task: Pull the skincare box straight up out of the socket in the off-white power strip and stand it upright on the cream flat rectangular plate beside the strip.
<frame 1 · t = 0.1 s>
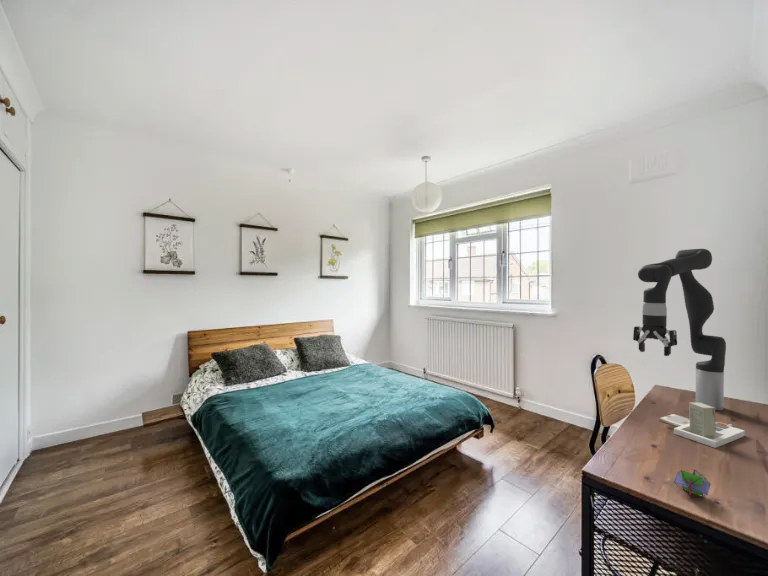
hand: (654, 353, 132), 29 cm above the table, fingers open, 8 cm apart
cream flat rectangular plate: (677, 421, 135), on the table
skincare box: (702, 437, 122), resting in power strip
geometric puzzle: (691, 495, 89), on the table
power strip: (710, 434, 124), on the table
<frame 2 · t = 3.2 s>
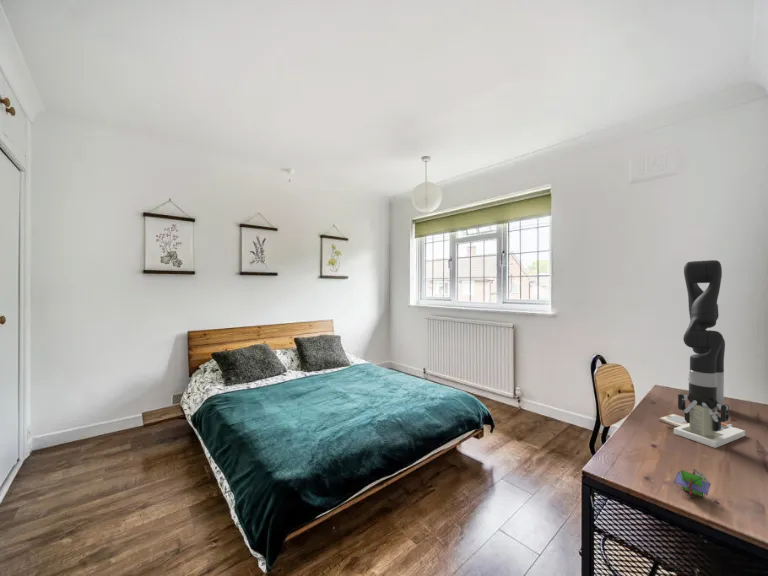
hand: (702, 426, 122), 4 cm above the table, fingers closed on skincare box, 7 cm apart
skincare box: (702, 437, 122), resting in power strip, touching gripper
everything else where it was.
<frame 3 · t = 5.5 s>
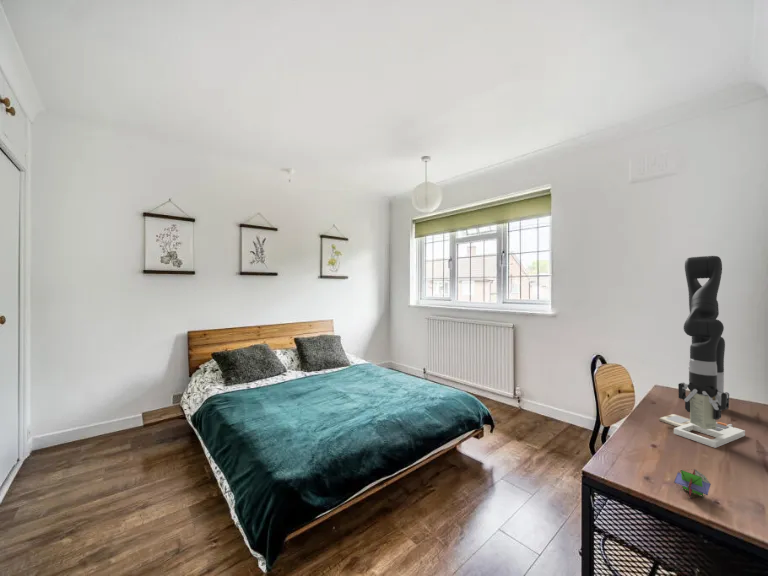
hand: (702, 415, 122), 8 cm above the table, fingers closed on skincare box, 7 cm apart
skincare box: (702, 426, 122), point 4 cm above the table, touching gripper
everything else where it was.
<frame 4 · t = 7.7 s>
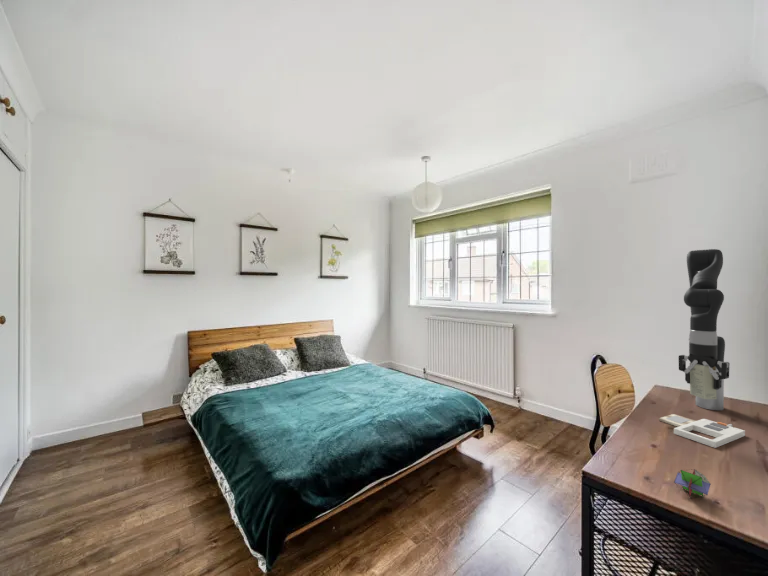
hand: (702, 386, 122), 19 cm above the table, fingers closed on skincare box, 7 cm apart
skincare box: (702, 397, 122), point 15 cm above the table, touching gripper
everything else where it was.
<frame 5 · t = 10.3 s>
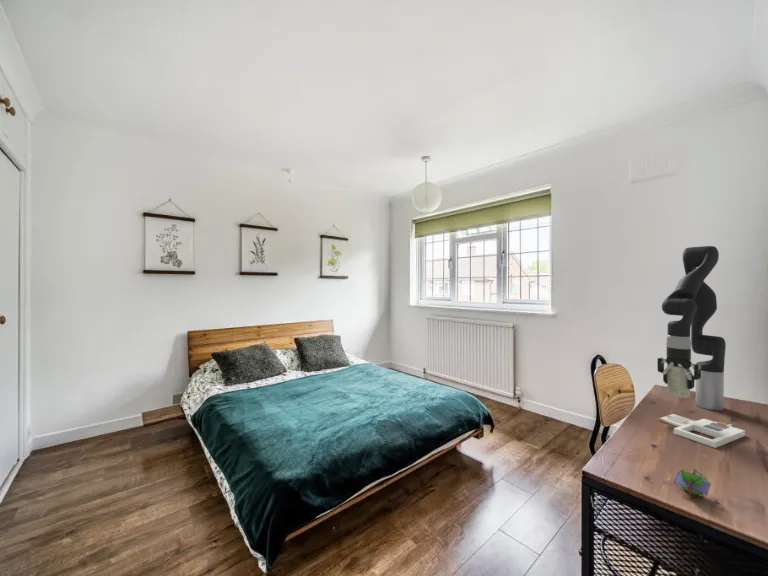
hand: (678, 385, 135), 15 cm above the table, fingers closed on skincare box, 7 cm apart
skincare box: (678, 395, 135), point 11 cm above the table, touching gripper
everything else where it was.
when the fingers open (6 cm above the table, at t = 12.5 s): skincare box moves 1 cm, resting on cream flat rectangular plate.
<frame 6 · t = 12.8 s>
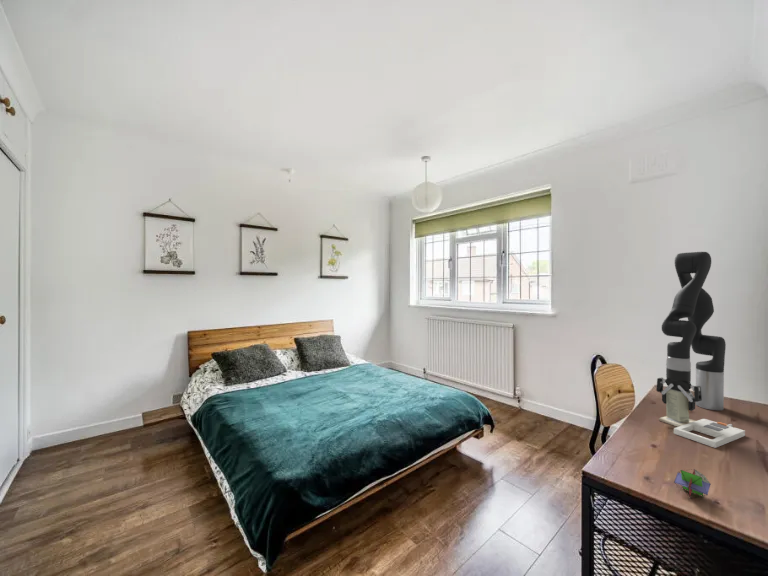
hand: (677, 406, 135), 6 cm above the table, fingers open, 8 cm apart
skincare box: (677, 419, 135), point 1 cm above the table, touching cream flat rectangular plate
everything else where it was.
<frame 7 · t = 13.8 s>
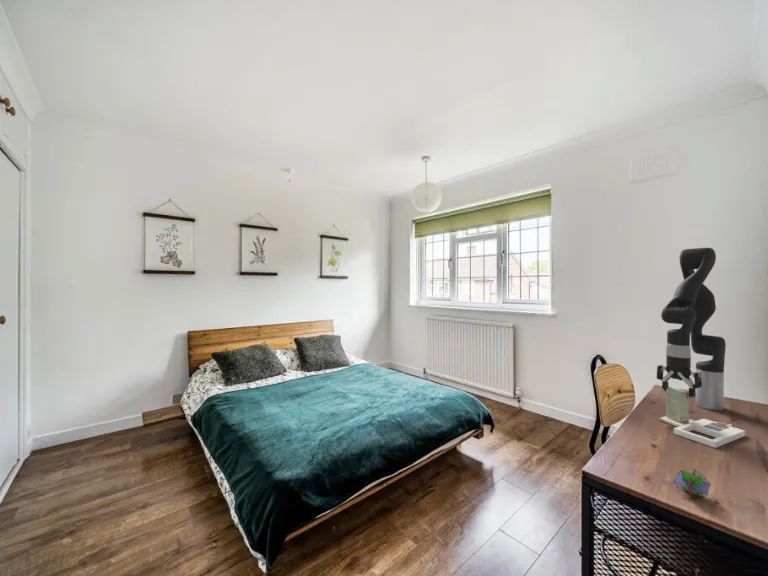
hand: (678, 393, 135), 12 cm above the table, fingers open, 8 cm apart
nothing on the table moved.
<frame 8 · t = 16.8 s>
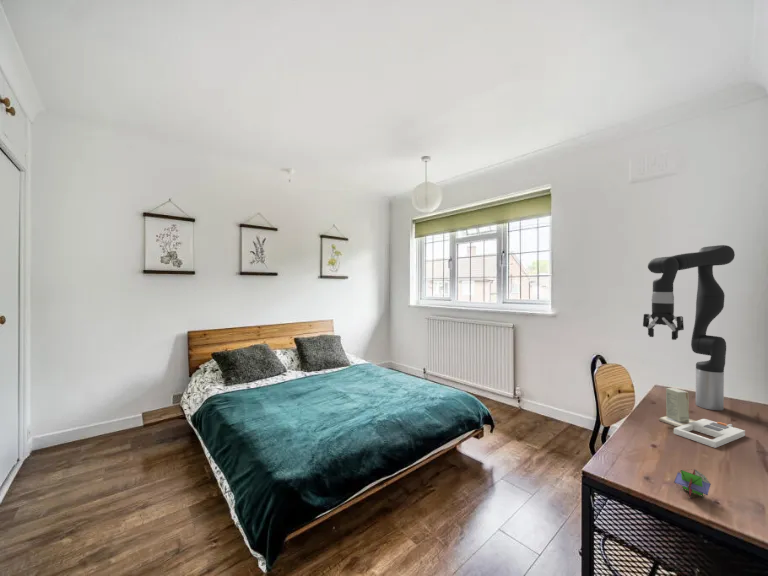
hand: (662, 338, 146), 33 cm above the table, fingers open, 8 cm apart
nothing on the table moved.
at the end: skincare box inside the target area on the cream flat rectangular plate (0.3 cm from its centre), point 0.9 cm above the cream flat rectangular plate's base; skincare box tilted 0°; the gripper is holding nothing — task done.
